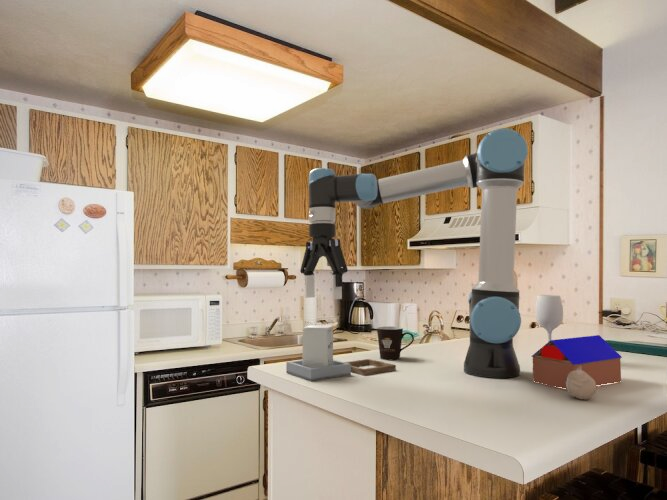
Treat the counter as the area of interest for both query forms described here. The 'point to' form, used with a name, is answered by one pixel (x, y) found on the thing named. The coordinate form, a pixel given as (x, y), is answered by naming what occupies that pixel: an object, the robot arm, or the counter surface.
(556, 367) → the house
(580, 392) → the garlic bulb
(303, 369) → the grey tray
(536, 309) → the wineglass
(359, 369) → the walnut collar
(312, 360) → the supplement box
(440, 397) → the counter surface
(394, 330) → the coffee mug
